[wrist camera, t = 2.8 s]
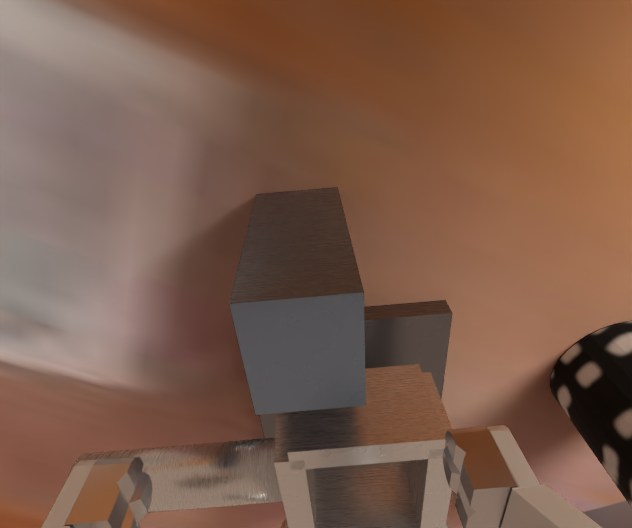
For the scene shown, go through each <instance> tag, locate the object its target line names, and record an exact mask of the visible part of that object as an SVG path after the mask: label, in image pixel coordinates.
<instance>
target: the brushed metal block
mask: <svg viewBox="0 0 632 528" xmlns="http://www.w3.org/2000/svg"><path fill="white" fill-rule="evenodd" d="M229 306H230V310H231V314H232V318H233V323H234V327H235V331H236V335H237V339H238V343H239V348H240V352H241V356H242V360H243V364H244V369H245V373H246V377H247V381H248V385H249V389H250V394H251V398H252V402H253V406H254V410H255V415H261V414H273V413H284V412H296V411H308V410H319V409H331V408H343V407H355V406H366V383H365V327H364V291H363V287H362V283H361V279H360V275H359V271H358V267H357V263H356V259H355V255H354V251H353V247H352V243H351V239H350V235H349V231H348V227H347V223H346V219H345V215H344V211H343V207H342V204H341V200H340V196H339V192H338V188H337V187H334V188H323V189H312V190H300V191H289V192H278V193H266V194H256V198H255V202H254V206H253V210H252V214H251V218H250V222H249V226H248V230H247V234H246V238H245V242H244V246H243V250H242V254H241V258H240V262H239V266H238V270H237V274H236V278H235V282H234V286H233V290H232V294H231V298H230V302H229Z"/></svg>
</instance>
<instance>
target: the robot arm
mask: <svg viewBox="0 0 632 528" xmlns="http://www.w3.org/2000/svg"><path fill="white" fill-rule="evenodd" d="M445 441H446V443H447V447H446V448H445V449H444V450H443V465H444V471H445V475H446V479H447V482H448V485H449V488H450V489H452V490H453V491H454V492H455V493H456V494H457V498H456V504H455V505H456V508H457V511H458V514H459V517H460V520H461V523H462V525H463V528H602V527H601V526H599V525H598V524H597V523H596V522H594V521H593V520H591V519H590V518H589V517H588V516H586V515H585V514H584V513H582V512H581V511H580V510H579V509H577V508H576V507H575V506H573V505H572V504H571V503H569V502H568V501H567V500H565V499H564V498H563V497H562V496H560V495H559V494H558V493H556V492H555V491H554V490H552V489H551V488H550V487H549V486H547V485H540V483H539V482H538V480H537V478H536V476H535V474H534V473H533V471H532V469H531V467H530V466H529V464H528V462H527V460H526V458H525V457H524V455H523V453H522V451H521V449H520V448H519V446H518V444H517V442H516V441H515V439H514V437H513V435H512V433H511V432H510V430H509V428H507V427H506V426H505V425H498V426H489V427H484V426H481V427H471V428H462V429H452V430H447V432H446V435H445ZM143 466H144V464H143V462H142V460H141V458H140V457H129V458H115V459H98V460H86V461H79V462H78V463H77V464H76V465H75V466H74V468H73V469H72V471H71V473H70V475H69V477H68V478H67V480H66V482H65V484H64V486H63V488H62V490H61V492H60V493H59V495H58V497H57V499H56V501H55V503H54V505H53V506H52V508H51V510H50V512H49V514H48V516H47V518H46V520H45V521H44V523H43V525H42V527H41V528H140V526H139V522H140V521H141V520H142V519H143V518H144V516H145V515H146V514H147V513H148V510H149V507H150V503H151V498H152V482H151V479H150V476H149V475H148V474H147V473H145V472H143V471H142V468H143Z"/></svg>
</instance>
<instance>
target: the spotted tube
mask: <svg viewBox="0 0 632 528" xmlns="http://www.w3.org/2000/svg"><path fill="white" fill-rule="evenodd" d="M550 387H551V391H552V393H553V395H554V397H555V398H556V400H557V401H558V403H559V404H560V405H561V407H562V408H563V410H564V411H565V413H566V414H567V415H568V417H569V418H570V420H571V421H572V423H573V424H574V426H575V427H576V428H577V430H578V431H579V433H580V434H581V436H582V437H583V438H584V440H585V441H586V443H587V444H588V446H589V447H590V448H591V450H592V451H593V453H594V454H595V456H596V457H597V458H598V460H599V461H600V463H601V464H602V466H603V467H604V468H605V470H606V471H607V473H608V474H609V476H610V477H611V478H612V480H613V481H614V483H615V484H616V486H617V487H618V489H619V490H620V491H621V493H622V494H623V496H624V497H625V499H626V500H627V501H628V503H629V504H630V506H631V507H632V321H628V322H624V323H619V324H615V325H612V326H609V327H606V328H603V329H600V330H598V331H596V332H594V333H592V334H590V335H588V336H587V337H585V338H583V339H582V340H580V341H579V342H577V343H576V344H575V345H574V346H572V347H571V348H570V349H569V350H568V351H567V352H566V353H565V354H564V355H563V356H562V357H561V358H560V359H559V361H558V363H557V364H556V366H555V367H554V369H553V372H552V375H551V380H550Z"/></svg>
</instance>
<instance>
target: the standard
mask: <svg viewBox="0 0 632 528" xmlns="http://www.w3.org/2000/svg"><path fill="white" fill-rule="evenodd" d="M451 319H452V311H451V310H450V308H449V306H448V304H447V302H446V300H443V301H431V302H420V303H408V304H396V305H385V306H373V307H364V327H365V383H366V406H355V407H343V408H331V409H319V410H308V411H296V412H284V413H273V414H261V415H259V416H260V420H261V425H262V429H263V433H264V439H252V440H240V441H228V442H216V443H204V444H193V445H181V446H169V447H157V448H145V449H133V450H121V451H109V452H97V453H86V454H84V455H82V456H81V457H80V458H78V460H77V461H76V462H75V464H74V465H73V467H72V469H73V468H74V466H75V465H76V464H77V463H78V462H79V461H86V460H98V459H115V458H129V457H140V458H141V460H142V462H143V464H144V466H143V468H142V471H143V472H145V473H147V474H148V475H149V476H150V479H151V482H152V498H151V503H150V507H149V510H148V513H151V512H164V511H176V510H188V509H200V508H212V507H224V506H236V505H248V504H260V503H272V502H283V505H284V510H285V514H286V518H285V520H284V521H283V523H282V526H281V528H448V525H447V522H446V521H447V515H448V509H449V504H450V498H451V493H452V489H450V488H449V485H448V482H447V479H446V475H445V471H444V465H443V450H444V449H445V448H446V447H447V443H446V441H445V435H446V432H447V430H452V426H451V424H450V421H449V419H448V416H447V413H446V411H445V408H444V406H443V403H442V401H441V398H442V390H443V382H444V374H445V366H446V358H447V351H448V343H449V335H450V327H451ZM72 469H71V471H72ZM71 471H70V473H71ZM70 473H69V475H70ZM68 477H69V476H68Z"/></svg>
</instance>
